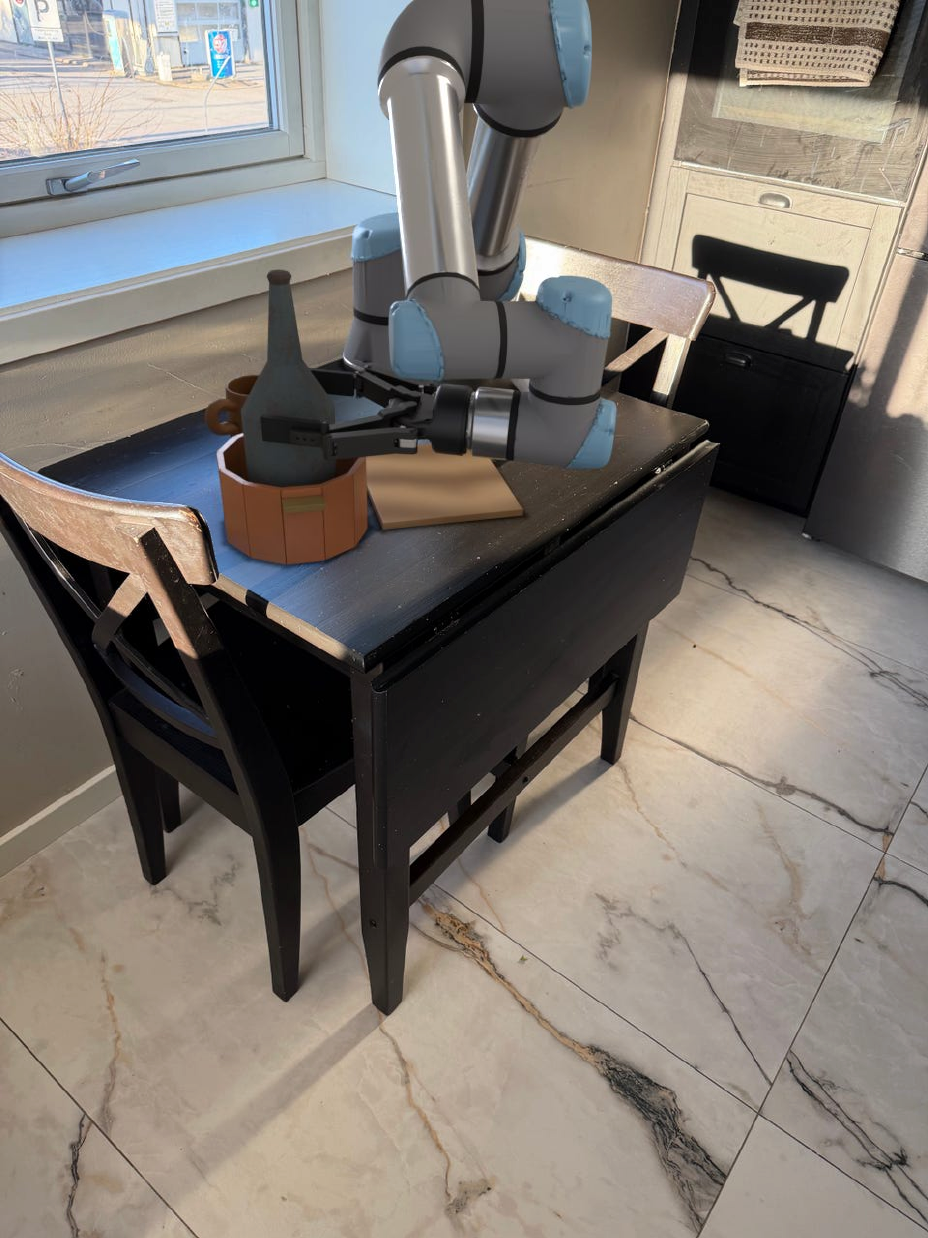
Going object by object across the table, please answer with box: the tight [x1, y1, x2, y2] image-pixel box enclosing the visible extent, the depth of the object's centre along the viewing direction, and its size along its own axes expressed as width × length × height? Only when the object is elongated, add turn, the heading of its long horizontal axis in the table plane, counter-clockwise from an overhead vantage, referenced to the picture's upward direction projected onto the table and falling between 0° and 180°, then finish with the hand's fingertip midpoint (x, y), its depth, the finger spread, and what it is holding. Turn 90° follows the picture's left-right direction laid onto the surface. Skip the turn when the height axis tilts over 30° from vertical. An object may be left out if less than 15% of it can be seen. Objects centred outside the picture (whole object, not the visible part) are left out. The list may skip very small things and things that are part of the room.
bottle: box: [241, 269, 337, 488], centre depth 101 cm, size 10×10×30 cm
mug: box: [204, 374, 260, 439], centre depth 121 cm, size 12×8×9 cm, turn 142°
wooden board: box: [366, 443, 524, 531], centre depth 120 cm, size 20×18×1 cm
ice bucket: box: [215, 433, 368, 566], centre depth 107 cm, size 21×17×10 cm
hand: (281, 401), depth 101 cm, fingers open, 13 cm apart
